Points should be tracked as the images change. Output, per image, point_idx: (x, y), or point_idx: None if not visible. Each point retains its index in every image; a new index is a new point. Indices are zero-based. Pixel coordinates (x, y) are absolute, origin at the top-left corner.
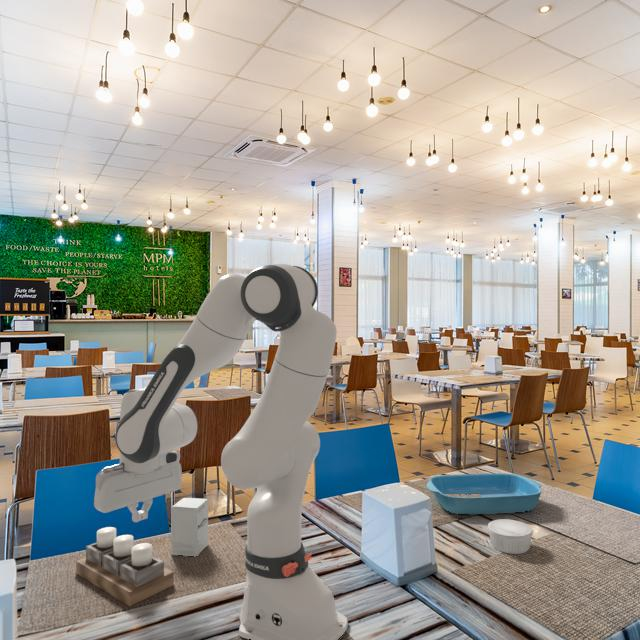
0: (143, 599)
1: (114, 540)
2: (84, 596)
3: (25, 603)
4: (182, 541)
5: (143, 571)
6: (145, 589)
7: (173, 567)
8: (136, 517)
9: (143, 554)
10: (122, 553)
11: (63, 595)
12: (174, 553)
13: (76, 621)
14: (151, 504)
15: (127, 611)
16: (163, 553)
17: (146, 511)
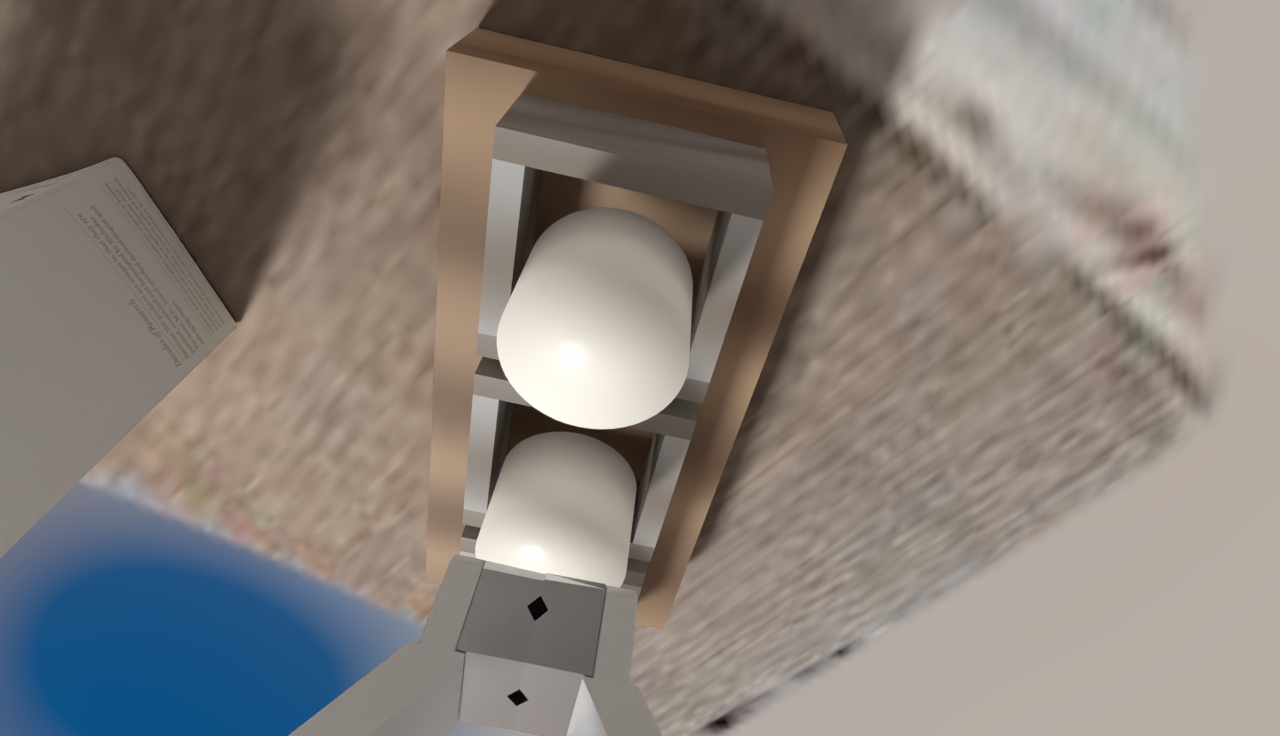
0: (728, 89)
1: None
2: (821, 419)
3: (954, 577)
4: (124, 304)
5: (707, 173)
6: (714, 101)
7: (320, 207)
8: (631, 646)
9: (652, 271)
10: (615, 468)
11: (846, 501)
12: (219, 311)
13: (1060, 284)
14: (312, 719)
15: (888, 81)
16: (261, 375)
17: (447, 649)
